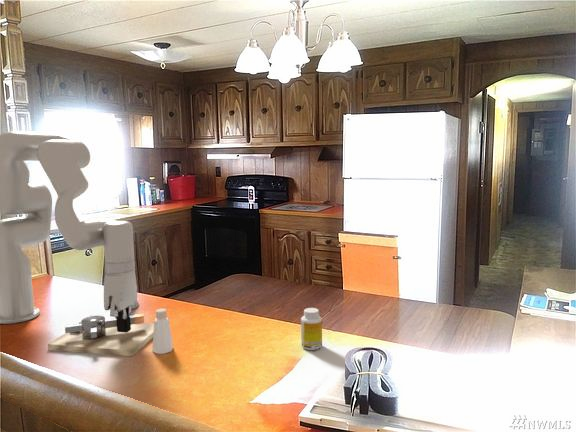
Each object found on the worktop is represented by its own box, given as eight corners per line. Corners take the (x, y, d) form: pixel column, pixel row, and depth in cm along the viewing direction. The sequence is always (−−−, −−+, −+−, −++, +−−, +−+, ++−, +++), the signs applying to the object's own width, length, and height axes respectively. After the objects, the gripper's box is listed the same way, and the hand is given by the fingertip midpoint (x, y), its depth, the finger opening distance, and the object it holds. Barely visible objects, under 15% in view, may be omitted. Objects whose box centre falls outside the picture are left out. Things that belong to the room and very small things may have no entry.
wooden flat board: (48, 349, 118) (47, 339, 118) (88, 324, 136) (87, 314, 135) (132, 356, 115) (131, 345, 114) (162, 329, 132) (162, 319, 132)
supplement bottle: (326, 348, 119) (325, 311, 118) (307, 352, 116) (307, 314, 115) (315, 341, 124) (315, 305, 123) (298, 345, 121) (297, 308, 120)
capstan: (64, 349, 114) (63, 332, 114) (67, 329, 127) (66, 314, 126) (146, 336, 122) (146, 321, 122) (141, 319, 135) (140, 305, 134)
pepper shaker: (154, 355, 115) (152, 315, 113) (150, 347, 120) (148, 308, 118) (175, 351, 117) (173, 311, 116) (170, 343, 122) (169, 305, 121)
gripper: (122, 259, 129) (125, 320, 131) (91, 273, 114) (95, 341, 117) (146, 260, 128) (149, 321, 130) (118, 274, 113) (122, 343, 116)
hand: (124, 330), depth 124 cm, fingers closed
